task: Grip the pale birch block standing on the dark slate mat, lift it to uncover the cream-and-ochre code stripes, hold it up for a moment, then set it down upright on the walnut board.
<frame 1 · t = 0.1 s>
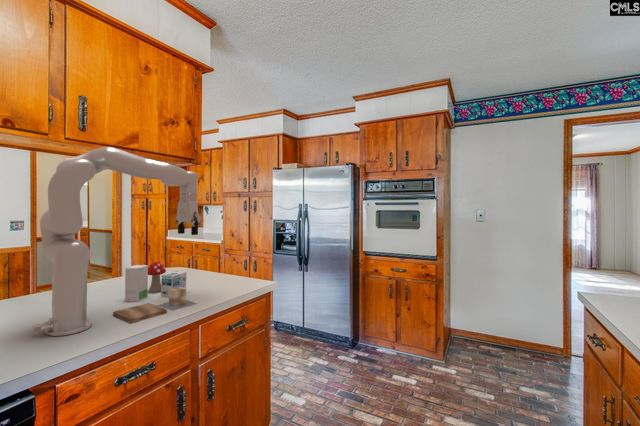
hand: (187, 234, 145), 31 cm above the countertop, tool pointing down, fingers open, 9 cm apart
skincare box: (136, 299, 143), on the countertop
birch block: (177, 304, 137), resting on code mat
light bulb box: (173, 295, 153), on the countertop
code mat: (177, 304, 137), on the countertop
walnut board: (140, 314, 124), on the countertop
decorative mushroom: (155, 291, 158), on the countertop
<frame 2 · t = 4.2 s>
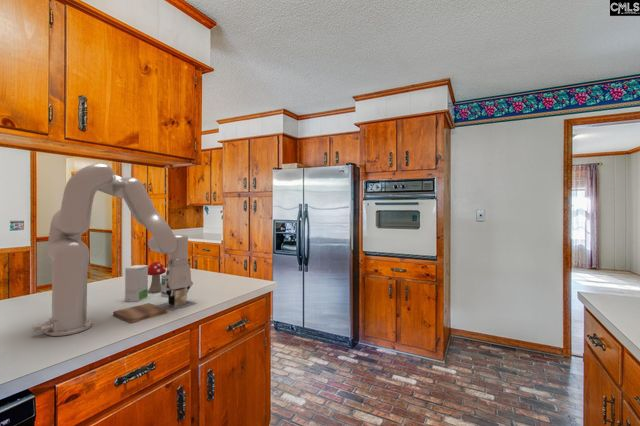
hand: (177, 302, 137), 1 cm above the countertop, tool pointing down, fingers closed on birch block, 5 cm apart
birch block: (177, 304, 137), resting on code mat, touching gripper
everything else where it was.
when the fingers open (4 cm above the countertop, at t = 12.4 s): birch block drops 2 cm, resting on walnut board.
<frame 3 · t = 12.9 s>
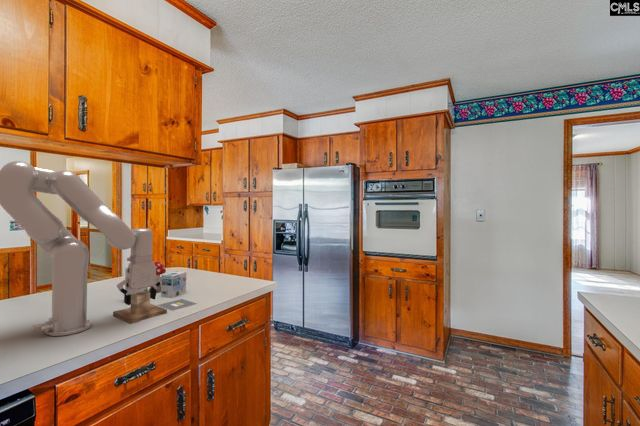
hand: (140, 301, 124), 5 cm above the countertop, tool pointing down, fingers open, 9 cm apart
birch block: (140, 310, 124), point 2 cm above the countertop, touching walnut board
everything else where it was.
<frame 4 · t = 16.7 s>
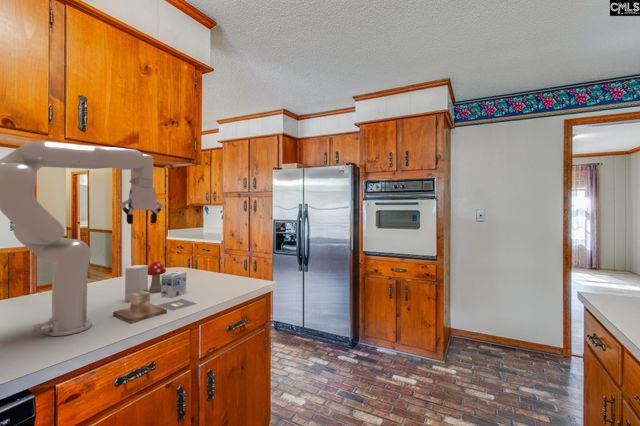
hand: (142, 223, 131), 36 cm above the countertop, tool pointing down, fingers open, 9 cm apart
nothing on the countertop moved.
at the end: birch block inside the target area on the walnut board (0.1 cm from its centre), point 1.6 cm above the walnut board's base; birch block tilted 0°; birch block touching walnut board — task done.
